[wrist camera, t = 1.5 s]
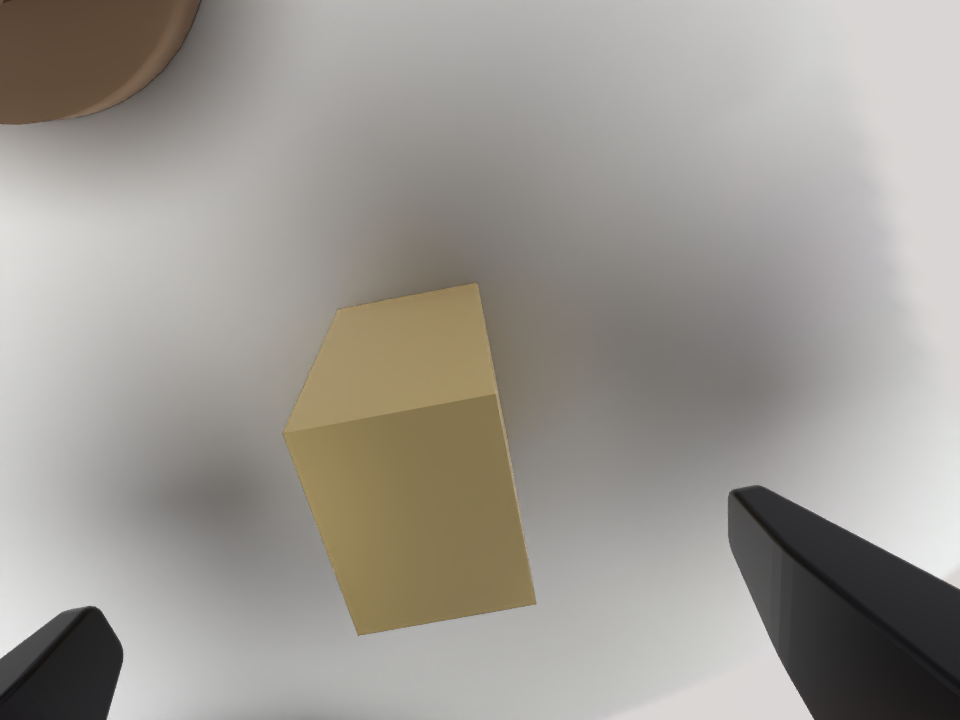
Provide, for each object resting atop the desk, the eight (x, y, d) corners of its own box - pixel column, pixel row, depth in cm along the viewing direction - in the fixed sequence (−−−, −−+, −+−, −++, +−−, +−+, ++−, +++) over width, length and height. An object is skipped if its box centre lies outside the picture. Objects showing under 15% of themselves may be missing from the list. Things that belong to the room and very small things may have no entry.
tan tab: (507, 440, 15) (536, 604, 10) (384, 463, 15) (358, 635, 10) (477, 282, 13) (496, 393, 8) (338, 308, 13) (282, 433, 9)
